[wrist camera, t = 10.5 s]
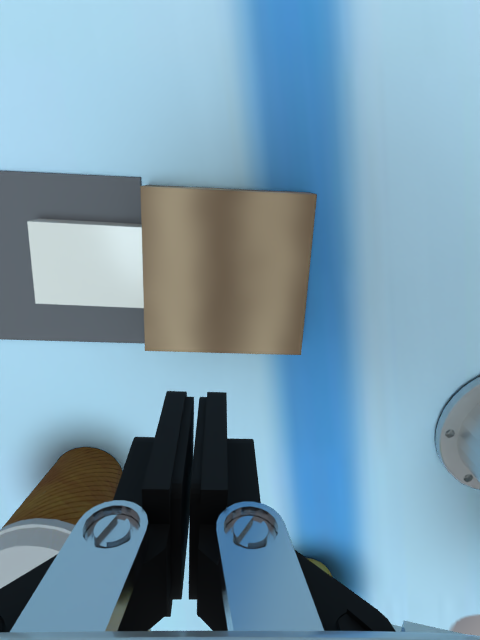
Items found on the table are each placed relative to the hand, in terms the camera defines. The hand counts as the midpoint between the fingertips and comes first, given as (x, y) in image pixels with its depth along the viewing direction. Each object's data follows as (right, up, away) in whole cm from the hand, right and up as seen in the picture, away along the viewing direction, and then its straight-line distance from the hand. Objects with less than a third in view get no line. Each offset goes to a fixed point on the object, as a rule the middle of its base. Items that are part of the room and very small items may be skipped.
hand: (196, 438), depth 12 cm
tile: (-10, +8, +21) cm, 25 cm away
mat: (-12, +8, +21) cm, 26 cm away
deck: (0, +7, +22) cm, 23 cm away
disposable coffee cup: (-13, -11, +28) cm, 33 cm away
